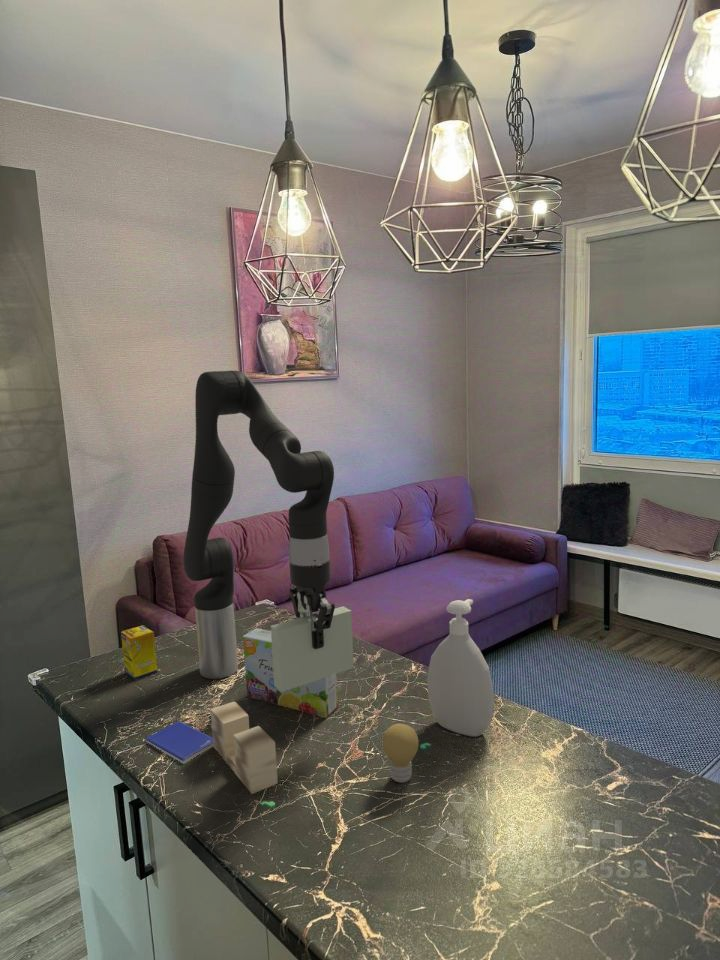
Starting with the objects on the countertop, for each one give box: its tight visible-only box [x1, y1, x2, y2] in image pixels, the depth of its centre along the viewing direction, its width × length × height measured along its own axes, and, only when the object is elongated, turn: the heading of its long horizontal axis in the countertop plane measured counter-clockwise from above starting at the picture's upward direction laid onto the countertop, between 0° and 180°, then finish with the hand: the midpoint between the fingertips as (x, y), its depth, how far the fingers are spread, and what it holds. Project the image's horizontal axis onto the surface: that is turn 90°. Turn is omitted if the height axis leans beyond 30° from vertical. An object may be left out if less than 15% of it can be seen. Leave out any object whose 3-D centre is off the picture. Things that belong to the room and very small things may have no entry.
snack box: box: [242, 627, 339, 718], centre depth 143 cm, size 21×6×15 cm, turn 62°
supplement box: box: [120, 624, 158, 681], centre depth 160 cm, size 6×6×11 cm
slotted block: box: [210, 701, 278, 795], centre depth 121 cm, size 18×5×8 cm, turn 34°
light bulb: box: [381, 723, 419, 784], centre depth 115 cm, size 6×6×10 cm
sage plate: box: [270, 605, 354, 692], centre depth 125 cm, size 3×16×12 cm, turn 124°
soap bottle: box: [427, 598, 495, 737], centre depth 130 cm, size 14×8×27 cm, turn 53°
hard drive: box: [145, 720, 213, 765], centre depth 130 cm, size 2×8×12 cm
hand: (313, 644), depth 125 cm, fingers closed on sage plate, 3 cm apart
